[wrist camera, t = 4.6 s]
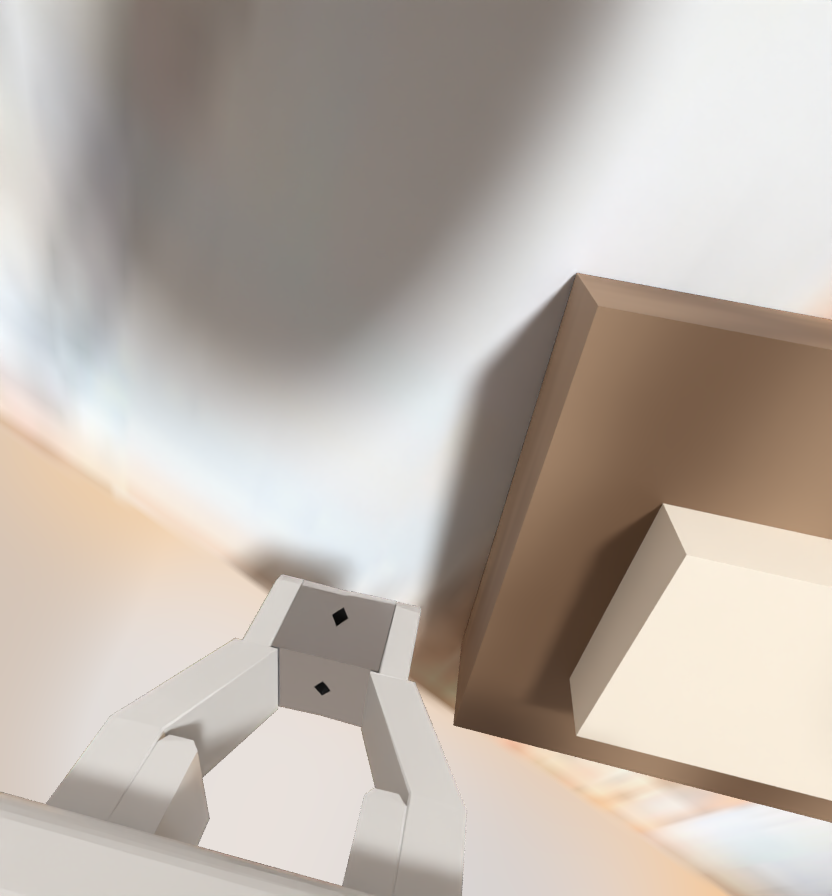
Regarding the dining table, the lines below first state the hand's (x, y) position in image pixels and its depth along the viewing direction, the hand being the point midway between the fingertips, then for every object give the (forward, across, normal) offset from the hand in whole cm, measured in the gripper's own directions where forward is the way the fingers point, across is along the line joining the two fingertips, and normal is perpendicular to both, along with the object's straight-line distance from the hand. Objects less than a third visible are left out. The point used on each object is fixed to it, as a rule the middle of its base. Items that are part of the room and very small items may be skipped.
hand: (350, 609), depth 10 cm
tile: (+2, -10, 0) cm, 10 cm away
